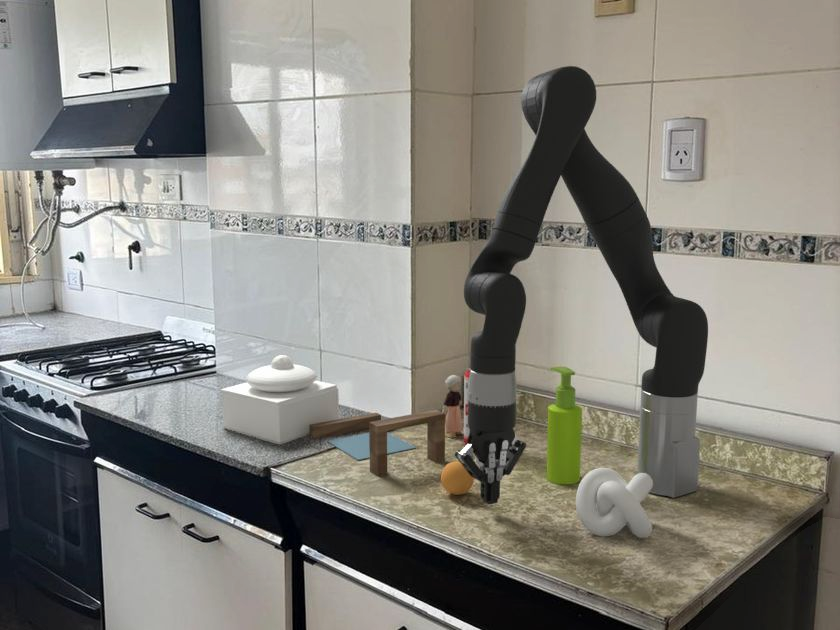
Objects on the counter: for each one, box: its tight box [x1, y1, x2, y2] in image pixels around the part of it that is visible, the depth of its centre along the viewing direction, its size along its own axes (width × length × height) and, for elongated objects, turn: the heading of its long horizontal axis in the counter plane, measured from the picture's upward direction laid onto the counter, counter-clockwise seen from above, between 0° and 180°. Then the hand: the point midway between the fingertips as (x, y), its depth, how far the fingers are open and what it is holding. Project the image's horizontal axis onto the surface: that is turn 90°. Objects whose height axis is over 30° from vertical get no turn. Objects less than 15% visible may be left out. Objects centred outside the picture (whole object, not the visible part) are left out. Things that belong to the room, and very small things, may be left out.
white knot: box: [575, 467, 653, 539], centre depth 125 cm, size 11×12×9 cm
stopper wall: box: [308, 412, 382, 439], centre depth 174 cm, size 2×16×2 cm, turn 123°
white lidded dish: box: [220, 354, 340, 445], centre depth 176 cm, size 18×18×16 cm
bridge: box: [368, 409, 446, 477], centre depth 152 cm, size 3×15×9 cm, turn 123°
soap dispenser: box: [546, 365, 583, 486], centre depth 145 cm, size 6×7×20 cm
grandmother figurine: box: [441, 374, 464, 439], centre depth 171 cm, size 8×4×13 cm, turn 161°
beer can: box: [463, 365, 470, 446], centre depth 163 cm, size 6×6×16 cm
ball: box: [440, 460, 475, 496], centre depth 139 cm, size 6×6×6 cm
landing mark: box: [327, 432, 417, 461], centre depth 165 cm, size 13×13×1 cm
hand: (490, 502), depth 132 cm, fingers closed
